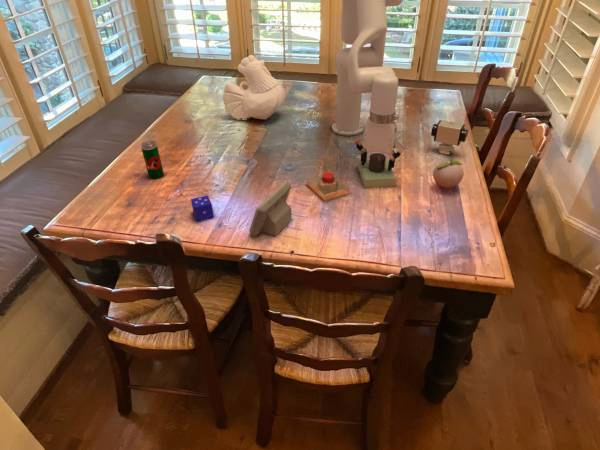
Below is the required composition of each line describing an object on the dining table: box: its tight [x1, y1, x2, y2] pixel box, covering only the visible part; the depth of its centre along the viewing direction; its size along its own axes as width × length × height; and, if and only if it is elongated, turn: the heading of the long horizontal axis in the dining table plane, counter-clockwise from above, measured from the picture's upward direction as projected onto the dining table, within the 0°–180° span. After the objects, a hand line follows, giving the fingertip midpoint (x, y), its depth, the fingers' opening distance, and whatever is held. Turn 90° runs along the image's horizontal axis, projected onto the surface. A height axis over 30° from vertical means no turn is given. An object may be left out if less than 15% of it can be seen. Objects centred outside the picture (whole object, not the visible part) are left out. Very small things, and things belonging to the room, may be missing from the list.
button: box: [321, 171, 335, 182], centre depth 137 cm, size 4×4×2 cm
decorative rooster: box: [222, 54, 286, 121], centre depth 182 cm, size 25×16×25 cm
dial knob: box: [368, 152, 387, 173], centre depth 142 cm, size 5×5×5 cm
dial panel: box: [357, 158, 397, 188], centre depth 145 cm, size 13×10×3 cm
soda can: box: [140, 140, 165, 180], centre depth 145 cm, size 5×5×12 cm
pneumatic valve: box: [430, 119, 469, 156], centre depth 155 cm, size 6×12×12 cm, turn 61°
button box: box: [306, 173, 350, 202], centre depth 139 cm, size 11×9×4 cm
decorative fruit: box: [432, 159, 465, 189], centre depth 136 cm, size 9×8×10 cm
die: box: [190, 195, 215, 222], centre depth 128 cm, size 5×5×5 cm
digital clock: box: [249, 181, 292, 237], centre depth 122 cm, size 16×9×11 cm, turn 140°
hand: (376, 166), depth 143 cm, fingers open, 8 cm apart
